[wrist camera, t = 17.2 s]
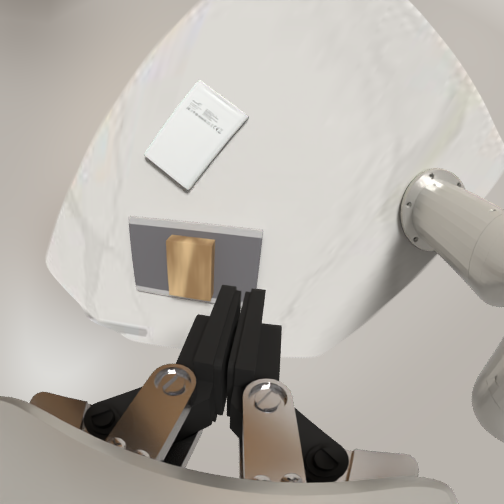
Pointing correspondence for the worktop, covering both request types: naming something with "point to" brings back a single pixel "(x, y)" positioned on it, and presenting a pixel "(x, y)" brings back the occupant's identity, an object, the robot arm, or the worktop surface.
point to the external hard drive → (195, 134)
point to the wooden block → (190, 267)
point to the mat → (226, 237)
